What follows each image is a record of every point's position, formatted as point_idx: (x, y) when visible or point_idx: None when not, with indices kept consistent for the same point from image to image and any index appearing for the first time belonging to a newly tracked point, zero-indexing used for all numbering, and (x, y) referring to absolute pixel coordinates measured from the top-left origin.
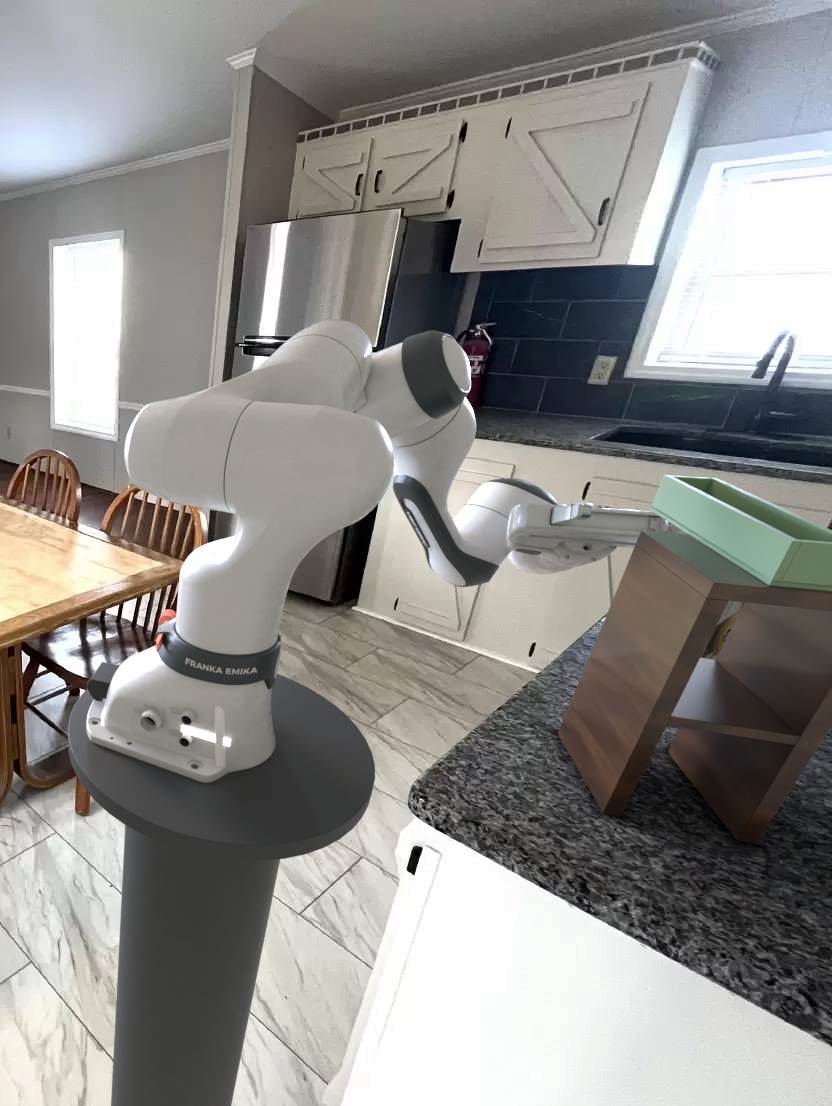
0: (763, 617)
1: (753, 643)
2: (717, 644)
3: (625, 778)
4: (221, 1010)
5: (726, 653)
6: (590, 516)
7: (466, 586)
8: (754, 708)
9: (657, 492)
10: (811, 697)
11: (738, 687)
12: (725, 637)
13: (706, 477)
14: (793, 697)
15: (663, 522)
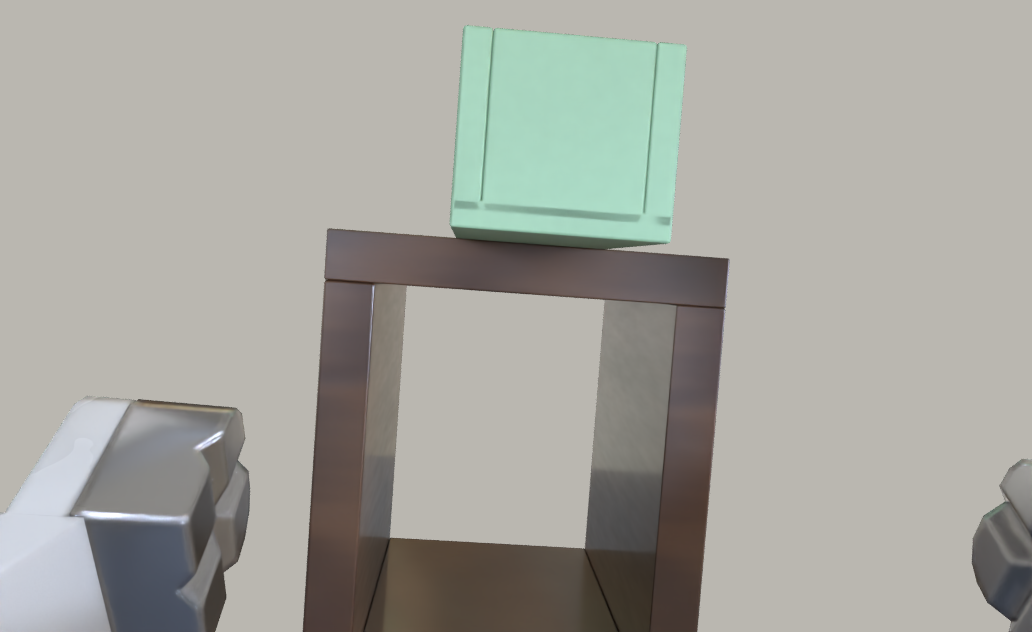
0: (375, 438)
1: (371, 514)
2: None
3: None
4: None
5: (356, 621)
6: (973, 560)
7: None
8: (412, 569)
9: (677, 142)
10: (392, 470)
11: (390, 604)
12: None
13: (510, 30)
14: (387, 503)
15: (204, 617)
